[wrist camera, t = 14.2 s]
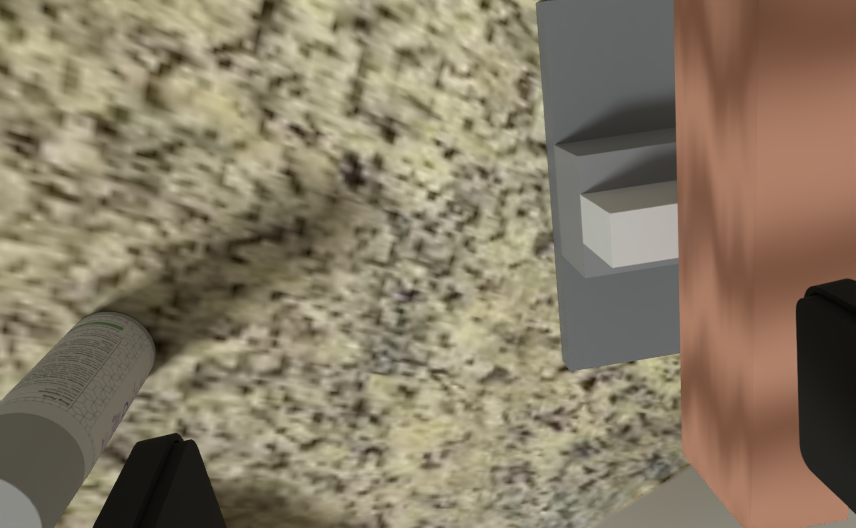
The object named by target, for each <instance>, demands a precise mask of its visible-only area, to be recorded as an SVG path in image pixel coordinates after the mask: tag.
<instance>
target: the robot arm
mask: <svg viewBox="0 0 856 528" xmlns="http://www.w3.org/2000/svg"><path fill="white" fill-rule="evenodd" d="M796 340H797V376H798V411H799V445H800V452H801V455H802V458H803V460H804V462H805V464H806V466H807V467H808V468H809V470H810V471H811V472H812V473H813V474H814V475H815V476H816V477H817V478H818V479H819V480H821V481H822V482H823V483H824V484H825V485H826V486H827V487H828V488H829V489H830V490H831V491H832V492H833V493H834V494H835V495H836V496H837V497H838V498H839V499H841V500H842V501H843V502H844V503H845V504H846V505H847V506H848V507H849V508H850V509H851V510H852V511H853V512H854V513H855V514H856V281H855V280H853V279H849V278H846V279H841V280H837V281H833V282H828V283H824V284H820V285H815V286H811V287H809V288H808V289H807V290H806V292H805V295H804V298H800V299H799V300H798V302H797V304H796ZM93 528H226V525H225V522H224V519H223V516H222V514H221V511H220V508H219V505H218V502H217V500H216V497H215V494H214V491H213V488H212V486H211V483H210V480H209V477H208V474H207V471H206V469H205V466H204V463H203V460H202V457H201V455H200V452H199V449H198V447H197V444H196V443H195V442H194V440H192V439H191V440H186V441H183V439H182V437H181V436H180V435H179V434H177V433H174V434H169V435H165V436H161V437H156V438H152V439H148V440H143V441H139V442H137V443H136V444H135V446H134V447H133V449H132V451H131V453H130V455H129V457H128V459H127V461H126V463H125V465H124V467H123V469H122V471H121V473H120V475H119V477H118V479H117V481H116V483H115V485H114V487H113V488H112V490H111V492H110V494H109V496H108V498H107V500H106V502H105V504H104V506H103V508H102V510H101V512H100V514H99V516H98V518H97V520H96V522H95V524H94V526H93Z"/></svg>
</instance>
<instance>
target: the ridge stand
mask: <svg viewBox="0 0 856 528" xmlns="http://www.w3.org/2000/svg"><path fill="white" fill-rule="evenodd" d="M536 11H537V24H538V38H539V51H540V64H541V78H542V91H543V104H544V118H545V131H546V144H547V158H548V171H549V184H550V198H551V211H552V224H553V238H554V251H555V264H556V277H557V291H558V304H559V317H560V331H561V344H562V357H563V361H564V363H565V364H566V366H567V367H568V369H569V370H570V371H575V370H581V369H587V368H593V367H599V366H605V365H611V364H617V363H623V362H630V361H636V360H642V359H648V358H654V357H660V356H666V355H672V354H678V353H680V308H679V256H678V205H677V153H676V102H675V50H674V0H551V1H543V2H539V3H536Z"/></svg>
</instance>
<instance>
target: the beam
mask: <svg viewBox="0 0 856 528" xmlns="http://www.w3.org/2000/svg"><path fill="white" fill-rule="evenodd" d="M674 50H675V102H676V153H677V205H678V256H679V308H680V360H681V411H682V454H683V455H684V456H685V457H686V458H687V460H688V461H689V462H690V463H691V465H692V466H693V467H694V468H695V469H696V471H697V472H698V473H699V474H700V476H701V477H702V478H703V479H704V480H705V482H706V483H707V484H708V485H709V487H710V488H711V489H712V490H713V492H714V493H715V494H716V495H717V496H718V498H719V499H720V500H721V501H722V502H723V504H724V505H725V506H726V507H727V509H728V510H729V511H730V512H731V513H732V515H733V516H734V517H735V518H736V520H737V521H738V522H739V523H740V525H741V526H742V527H743V528H803V527H809V526H814V525H820V524H825V523H830V522H836V521H841V520H846V519H848V510H849V507H848V506H847V505H846V504H845V503H844V502H843V501H842V500H841V499H839V498H838V497H837V496H836V495H835V494H834V493H833V492H832V491H831V490H830V489H829V488H828V487H827V486H826V485H825V484H824V483H823V482H822V481H821V480H819V479H818V478H817V477H816V476H815V475H814V474H813V473H812V472H811V471H810V470H809V468H808V467H807V466H806V464H805V462H804V460H803V458H802V455H801V452H800V445H799V411H798V376H797V340H796V304H797V302H798V300H799V299H800V298H804V295H805V292H806V290H807V289H808V288H809V287H811V286H815V285H820V284H824V283H828V282H833V281H837V280H841V279H846V278H849V279H853V280H855V281H856V0H674Z"/></svg>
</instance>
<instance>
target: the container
mask: <svg viewBox="0 0 856 528" xmlns="http://www.w3.org/2000/svg"><path fill="white" fill-rule="evenodd" d="M155 356H156V351H155V345H154V342H153V339H152V337H151V335H150V334H149V332H148V331H147V330H146V328H145V327H144V326H143V325H142V324H140V323H139V322H138V321H137V320H135V319H133V318H131V317H129V316H127V315H125V314H121V313H117V312H99V313H94V314H91V315H89V316H87V317H85V318H83V319H82V320H81V321H79V322H78V323H77V324H76V325H75V326H74V327H73V328H72V329H71V330H70V331H69V332H68V333H67V334H66V335H65V336H64V337H63V338H62V339H61V340H60V341H59V342H58V343H57V344H56V345H55V346H54V347H53V348H52V349H51V350H50V351H49V352H48V353H47V354H46V355H45V356H44V357H43V358H42V359H41V360H40V361H39V362H38V364H37V365H36V366H35V367H34V368H33V369H32V370H31V371H30V372H29V373H28V374H27V375H26V376H25V377H24V378H23V379H22V380H21V381H20V382H19V383H18V384H17V385H16V386H15V387H14V388H13V389H12V390H11V391H10V392H9V393H8V394H7V395H6V396H5V397H4V398H3V399H2V400H1V401H0V528H54V526H55V525H56V523H57V522H58V520H59V519H60V517H61V515H62V514H63V512H64V511H65V509H66V508H67V506H68V505H69V503H70V502H71V500H72V499H73V497H74V496H75V494H76V493H77V491H78V490H79V488H80V487H81V485H82V484H83V482H84V481H85V479H86V478H87V476H88V475H89V473H90V471H91V470H92V468H93V467H94V465H95V463H96V462H97V460H98V458H99V457H100V455H101V453H102V452H103V450H104V448H105V447H106V445H107V443H108V442H109V440H110V438H111V437H112V435H113V433H114V432H115V430H116V428H117V427H118V425H119V423H120V422H121V420H122V418H123V417H124V415H125V413H126V412H127V410H128V408H129V407H130V405H131V403H132V402H133V400H134V398H135V397H136V395H137V393H138V392H139V390H140V388H141V387H142V385H143V383H144V382H145V380H146V378H147V377H148V375H149V373H150V371H151V370H152V368H153V365H154V362H155Z"/></svg>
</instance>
